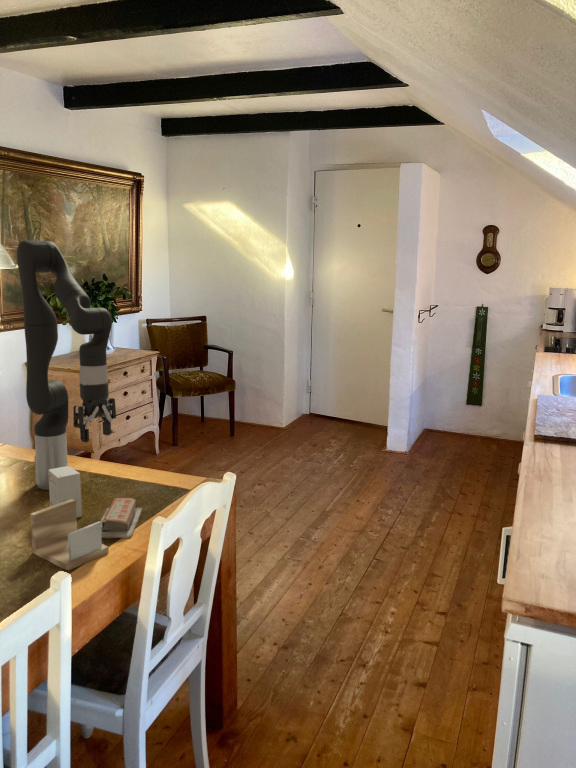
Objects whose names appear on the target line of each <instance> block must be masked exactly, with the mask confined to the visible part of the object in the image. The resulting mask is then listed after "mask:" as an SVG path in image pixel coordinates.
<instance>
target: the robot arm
mask: <svg viewBox="0 0 576 768" xmlns="http://www.w3.org/2000/svg"><path fill="white" fill-rule="evenodd" d="M16 258H17V259H16V261H17V262H16V263H17V269H18V274H19V280H20V287H21V294H22V307H23V326H24V327H23V329H24V339H25V347H26V350H25V352H26V353H25V354H26V382H25V383H26V384H25V385H26V387H25V388H26V389H25V390H26V391H25V394H26V402H27V406H28V408H29V409H30V411H31V412H33V413H34V414H35V415H42V416H41V417H40V419H39V420H38V421H37V422H35V424H34V430H33V433H34V443H35V444H34V445H35V446H34V448H35V450H34V451H35V455H34V468H35V469H34V470H35V484H36V485H37V487H38V489H40V490H45V491H49V474H48V470H49V469H54V468H60V467H65V466H69V465H68V448H67V447H68V444H67V426H68V422H69V393H68V391H67V390H68V389H67V387H66V386H65V385H64V383H63V382H62V381H60V380H55V379H53V380H52V379H51V380H49V366H50V363H51V360H52V357H53V355H54V353H55V350H56V348H57V344H58V340H59V334H58V333H59V330H58V319H57V315H56V313H55V311H54V310H53V308H52V307H51V305H50V304H49V303H48V301H47V300H46V299H45V297H44V296H43V293H42V292H41V290H40V288H39V285H38V280H37V274H38V273H40V274H43V273H51V274H52V275H54V276H55V284H54V293H55V296H56V298H57V300H58V301H59V303H60V304H61V305H62V306H63V308H64V310H66V312H67V313H66V314H67V315H68V318H69V319H68V320H69V322H70V325H71V329H72V330H73V331H74V332H75V333H76V334H79V335H82V336H83V335H84V336H86V335H92V338H91V340H90V341H88V342H85V343H83V344H81V345H80V346H79V350H78V351H79V375H78V377H79V395H80V396H79V397H80V398H81V400H82V404H81V405H74V406H73V420H72V421H73V428H77V429H79V434H80V436H79V437H80V440H81V442H83V443H89V442H90V429H89V428H90V427H89V426H90V425H91V424H92V422H93V421H94V420H95V419H97V418H98V417H99V418H100V419H101V420H102V435H104V436H110V435H111V433H112V422H113V419H114V420H115V419H116V418H117V410H116V407H117V406H116V399H115V398H113V397H109V392H110V391H109V371H108V366H107V363H108V362H107V348H108V343H109V340H110V339H109V338H110V334H111V330H112V327H113V319H112V315H111V313H110V311H109V310H107V309H106V308H104V307H91V305H92V301H91V299H90V296H89V295H88V294H87V293H86V291H85V290H84V289H83V288H82V287H81V285H80V284H79V283H78V281H77V280H76V279H75V277H74V276H73V273H72V272H71V269H70V267H69V265H68V263H67V261H66V259H65V257H64V256H63V253H62V251H60V249H59V247H58V246H57V245H56V243H54V242H53V241H51V240H31V239H30V240H22V241H20V242H19V243H18V245H17V249H16Z"/></svg>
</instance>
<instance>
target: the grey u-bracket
mask: <svg viewBox="0 0 576 768" xmlns="http://www.w3.org/2000/svg"><path fill="white" fill-rule="evenodd" d="M77 519H78V518H77V517H76V500H73V499H71V500H68V501H65V502H62V503H59V504H57V505H54V506H51V507H50V506H48V507H47V508H46V507H45V508H43V509H40V510H37V511H35V512H32V513H30V528H31V544H32V545H31V546H32V554H34V555H36V556H37V557H39V558H41V559H44V560H45V561H48V562H50V563H52V564H53V565H55V566H57V567H60V568H61V569H63V570H65V571H67V570H68V571H70V570H73V569H75V568H77V567H79V566H81V565H84V564H86V563H89V562H91V561H93V560H95V559H96V558H99V557H101V556H104V555H106V554H108V553H109V552H110V551H109V546H108V545H105V544H104V543H102V548H101V549H99V550H97V551H95V552H92V553H90V554H88V555H86V556H83V557H81V558H79V559H77V560H74V561H72V562H70V561H69V547H68V534H69V533H71V532H74V531H76V530H78V524H77V523H78V521H77ZM68 571H67V572H68Z"/></svg>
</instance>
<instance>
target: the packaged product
mask: <svg viewBox="0 0 576 768" xmlns="http://www.w3.org/2000/svg"><path fill="white" fill-rule="evenodd" d="M136 506H137V500H136V499H135V498H132V497H115V498H113V501H112V502H111V504H110V506H108V507H107V508H106V510H105V512H104V513H103V516H102V517H101V519H100V522H101V533H102V538H103V539H104V538H105V539H106V538H107V539H115V538H116V539H117V538H118V539H119V538H120V539H122V538H123V539H130V538H132V536H133V533H134V532H135V528H136V526H137V524H138V522H139V519H140V516H141V515H142V511H143V508H142V507H136Z"/></svg>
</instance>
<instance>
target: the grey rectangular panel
mask: <svg viewBox="0 0 576 768" xmlns="http://www.w3.org/2000/svg"><path fill="white" fill-rule="evenodd" d="M102 544H103V541H102V533H101V522H100V521H96V522H94V523H91V524H89V525H86V526H84V527H82V528H79V529H77V530H76V531H74V532H71V533H69V534H68V547H69V561H70V562H72V561H74V560H77V559H79V558H81V557H83V556H86V555H88V554H90V553H92V552H95V551H97V550H99V549H101V548H102Z"/></svg>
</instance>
